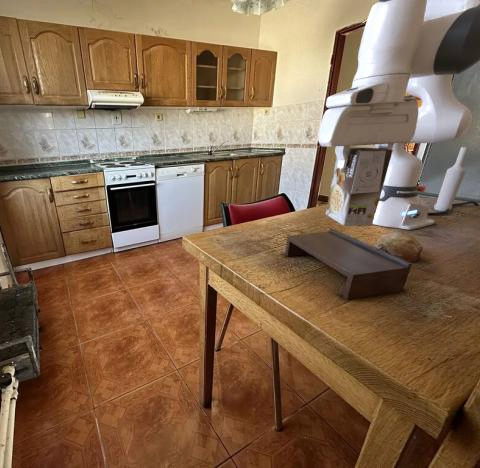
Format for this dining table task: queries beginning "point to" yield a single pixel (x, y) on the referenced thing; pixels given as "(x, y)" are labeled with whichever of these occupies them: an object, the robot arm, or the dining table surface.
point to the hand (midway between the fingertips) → (359, 167)
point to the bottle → (451, 183)
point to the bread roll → (400, 246)
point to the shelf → (353, 262)
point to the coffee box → (358, 186)
